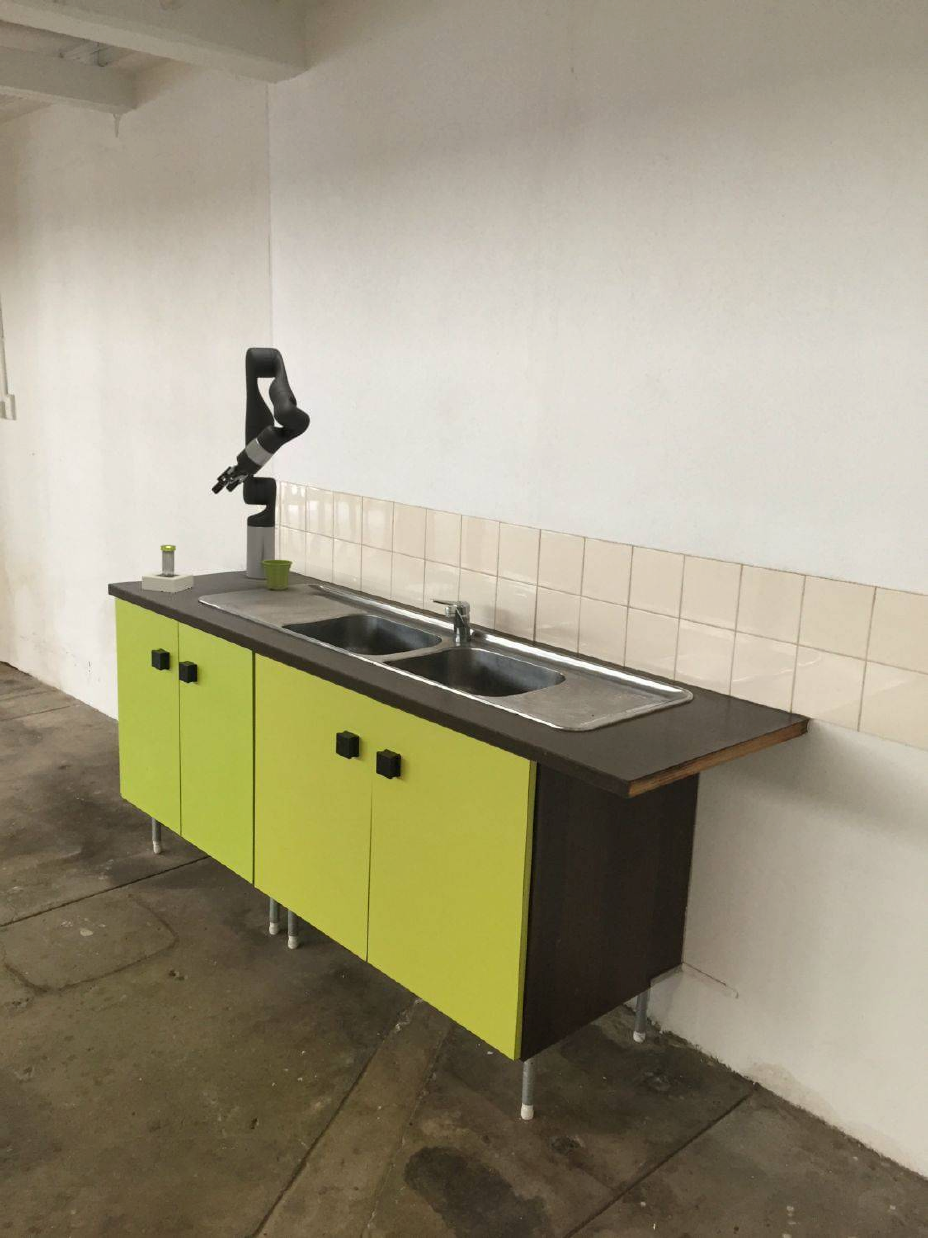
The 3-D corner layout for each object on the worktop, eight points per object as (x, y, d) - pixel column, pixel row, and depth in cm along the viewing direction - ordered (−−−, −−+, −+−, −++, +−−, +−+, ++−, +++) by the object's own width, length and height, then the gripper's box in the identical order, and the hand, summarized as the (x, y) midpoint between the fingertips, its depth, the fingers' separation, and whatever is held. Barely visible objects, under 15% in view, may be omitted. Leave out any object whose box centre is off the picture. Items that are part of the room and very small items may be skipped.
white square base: (161, 583, 327) (161, 571, 326) (193, 587, 324) (193, 574, 323) (142, 589, 317) (141, 576, 316) (173, 593, 314) (173, 579, 313)
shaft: (165, 586, 323) (165, 544, 320) (178, 588, 322) (178, 545, 319) (158, 588, 319) (157, 546, 316) (170, 590, 318) (170, 547, 315)
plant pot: (258, 586, 332) (258, 559, 330) (287, 585, 336) (287, 559, 334) (266, 591, 324) (266, 564, 322) (295, 591, 328) (296, 563, 326)
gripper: (258, 445, 317) (224, 480, 323) (236, 446, 304) (201, 482, 309) (274, 463, 317) (240, 498, 322) (252, 466, 304) (216, 502, 309)
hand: (221, 490), depth 316 cm, fingers open, 8 cm apart
